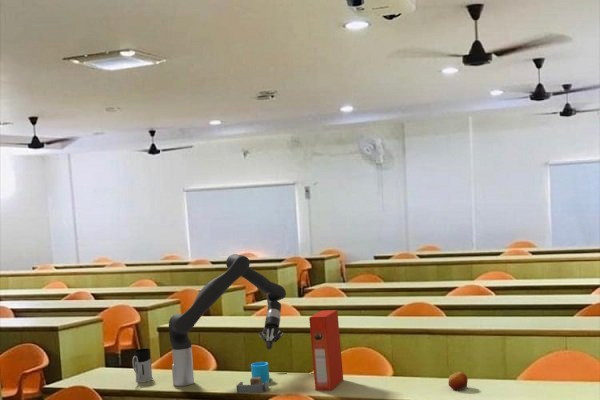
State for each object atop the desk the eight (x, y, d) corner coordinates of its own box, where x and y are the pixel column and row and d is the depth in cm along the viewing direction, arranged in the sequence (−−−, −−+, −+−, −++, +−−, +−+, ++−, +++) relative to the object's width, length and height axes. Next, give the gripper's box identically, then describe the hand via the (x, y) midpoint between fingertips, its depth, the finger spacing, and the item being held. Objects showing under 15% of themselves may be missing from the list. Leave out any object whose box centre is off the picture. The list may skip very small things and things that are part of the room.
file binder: (314, 390, 284) (309, 317, 284) (326, 379, 300) (321, 310, 301) (332, 390, 281) (326, 316, 282) (343, 379, 297) (338, 310, 298)
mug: (265, 383, 301) (264, 366, 301) (249, 383, 304) (248, 366, 304) (274, 376, 313) (273, 360, 313) (258, 376, 315) (257, 360, 315)
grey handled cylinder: (156, 377, 329) (154, 348, 329) (142, 385, 315) (140, 354, 316) (140, 377, 331) (138, 348, 332) (126, 385, 318) (124, 354, 318)
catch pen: (236, 392, 290) (236, 385, 290) (241, 388, 296) (240, 381, 296) (265, 391, 287) (264, 385, 287) (268, 387, 294) (268, 381, 294)
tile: (250, 388, 296) (250, 379, 296) (253, 385, 300) (252, 377, 300) (259, 388, 295) (258, 379, 295) (261, 385, 299) (260, 376, 299)
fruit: (469, 389, 263) (457, 371, 266) (453, 397, 267) (442, 380, 269) (475, 383, 270) (464, 366, 272) (460, 392, 274) (449, 375, 276)
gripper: (258, 316, 336) (254, 344, 324) (283, 315, 334) (280, 344, 321) (262, 324, 341) (257, 353, 329) (286, 323, 339) (283, 352, 326)
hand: (268, 348), depth 325 cm, fingers closed
